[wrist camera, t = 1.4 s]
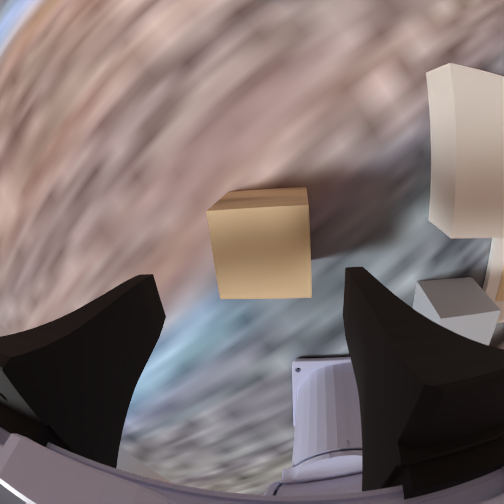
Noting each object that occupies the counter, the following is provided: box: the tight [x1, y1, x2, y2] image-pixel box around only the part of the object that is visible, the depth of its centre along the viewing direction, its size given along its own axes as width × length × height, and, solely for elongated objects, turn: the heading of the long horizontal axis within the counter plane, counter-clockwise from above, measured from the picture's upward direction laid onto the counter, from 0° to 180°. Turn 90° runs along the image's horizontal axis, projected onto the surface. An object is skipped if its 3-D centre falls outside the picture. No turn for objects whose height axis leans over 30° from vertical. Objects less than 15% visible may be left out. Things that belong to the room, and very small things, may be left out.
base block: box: [426, 63, 504, 238], centre depth 14 cm, size 10×10×4 cm
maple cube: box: [207, 187, 312, 299], centre depth 18 cm, size 5×5×5 cm
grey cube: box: [413, 277, 501, 346], centre depth 18 cm, size 5×5×5 cm
